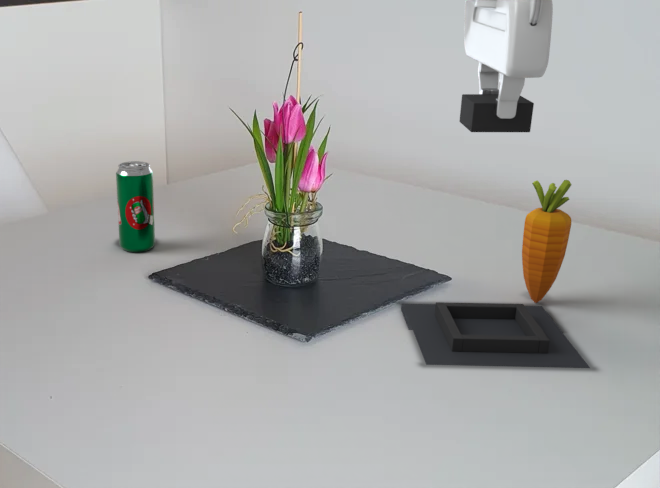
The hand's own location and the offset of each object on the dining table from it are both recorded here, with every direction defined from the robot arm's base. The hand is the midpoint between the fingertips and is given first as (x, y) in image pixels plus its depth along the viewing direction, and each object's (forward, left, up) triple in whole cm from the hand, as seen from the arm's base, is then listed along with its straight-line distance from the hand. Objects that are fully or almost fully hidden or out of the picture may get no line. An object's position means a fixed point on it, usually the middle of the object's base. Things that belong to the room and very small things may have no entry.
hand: (495, 111), depth 89 cm
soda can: (+42, -21, -23) cm, 52 cm away
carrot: (-8, -3, -23) cm, 25 cm away
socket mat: (0, +8, -23) cm, 24 cm away
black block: (0, 0, -2) cm, 2 cm away
